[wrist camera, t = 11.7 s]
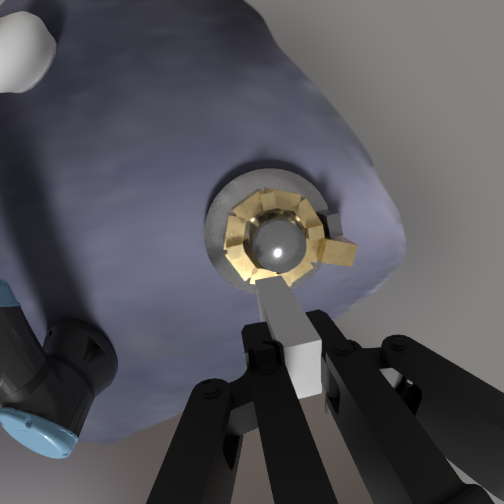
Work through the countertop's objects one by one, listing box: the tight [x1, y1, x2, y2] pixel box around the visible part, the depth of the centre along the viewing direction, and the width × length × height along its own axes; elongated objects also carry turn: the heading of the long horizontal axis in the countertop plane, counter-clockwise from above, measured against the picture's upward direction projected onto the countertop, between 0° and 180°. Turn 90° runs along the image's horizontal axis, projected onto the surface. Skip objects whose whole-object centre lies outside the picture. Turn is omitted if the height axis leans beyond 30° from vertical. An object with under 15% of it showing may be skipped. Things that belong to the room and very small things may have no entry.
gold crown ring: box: [223, 187, 358, 287], centre depth 36 cm, size 17×12×5 cm
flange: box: [204, 168, 343, 294], centre depth 36 cm, size 18×18×9 cm
